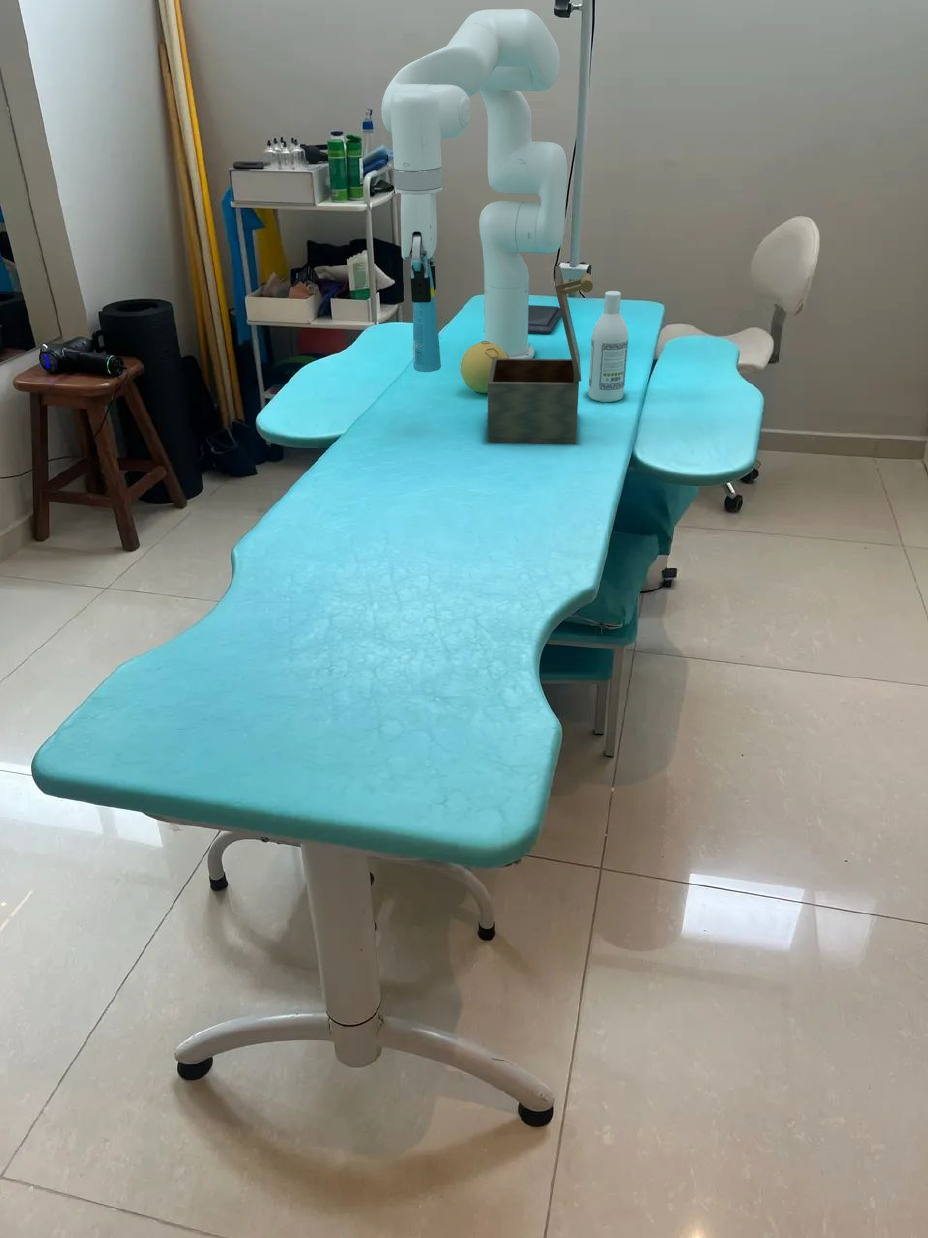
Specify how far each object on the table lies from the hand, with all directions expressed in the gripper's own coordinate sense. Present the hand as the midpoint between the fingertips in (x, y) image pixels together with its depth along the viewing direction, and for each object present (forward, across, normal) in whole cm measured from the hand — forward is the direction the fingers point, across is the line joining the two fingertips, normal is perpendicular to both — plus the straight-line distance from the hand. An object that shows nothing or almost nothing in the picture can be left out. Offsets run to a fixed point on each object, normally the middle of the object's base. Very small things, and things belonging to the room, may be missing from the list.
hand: (424, 294), depth 155 cm
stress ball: (+25, -20, +9) cm, 33 cm away
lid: (+5, -1, +24) cm, 25 cm away
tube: (+13, 0, 0) cm, 13 cm away
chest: (+24, -1, +19) cm, 31 cm away
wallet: (+26, -70, +16) cm, 76 cm away
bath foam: (+25, -18, +33) cm, 45 cm away
